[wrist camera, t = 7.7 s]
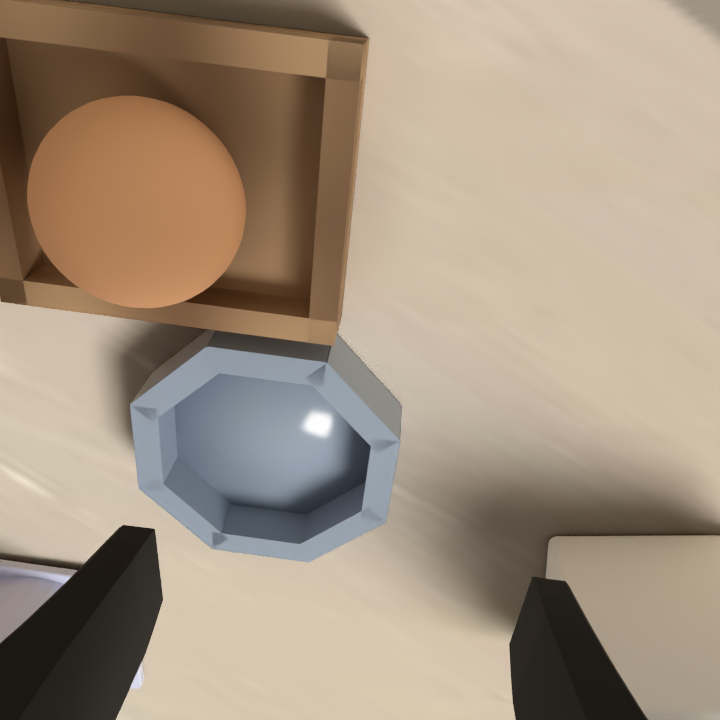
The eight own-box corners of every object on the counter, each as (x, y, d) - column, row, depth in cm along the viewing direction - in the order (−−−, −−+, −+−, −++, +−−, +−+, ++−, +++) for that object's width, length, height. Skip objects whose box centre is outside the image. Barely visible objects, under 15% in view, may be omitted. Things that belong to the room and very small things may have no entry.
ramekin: (162, 502, 25) (143, 539, 23) (147, 306, 21) (122, 335, 19) (380, 531, 25) (377, 572, 23) (412, 341, 20) (412, 374, 19)
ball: (100, 256, 19) (6, 332, 14) (74, 75, 16) (-49, 102, 12) (265, 272, 19) (219, 354, 14) (264, 92, 16) (208, 126, 12)
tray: (36, 275, 20) (0, 301, 19) (-14, -10, 16) (-66, -10, 14) (341, 315, 20) (334, 345, 18) (369, 38, 16) (363, 44, 14)
